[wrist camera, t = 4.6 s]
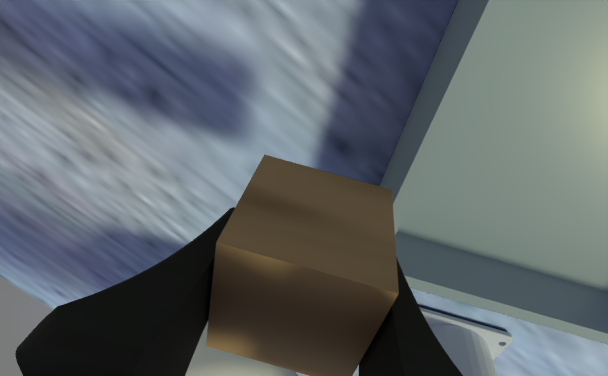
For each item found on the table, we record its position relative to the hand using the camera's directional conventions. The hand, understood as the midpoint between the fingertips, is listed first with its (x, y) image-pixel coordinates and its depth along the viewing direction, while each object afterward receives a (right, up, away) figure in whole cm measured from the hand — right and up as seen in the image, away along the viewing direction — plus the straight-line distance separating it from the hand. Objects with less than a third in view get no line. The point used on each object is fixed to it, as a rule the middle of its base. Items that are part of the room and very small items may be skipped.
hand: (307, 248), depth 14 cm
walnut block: (0, +1, +1) cm, 2 cm away
